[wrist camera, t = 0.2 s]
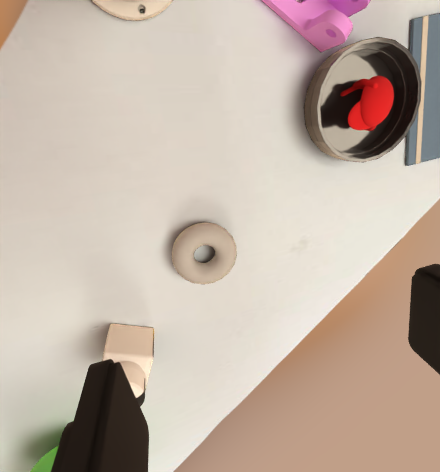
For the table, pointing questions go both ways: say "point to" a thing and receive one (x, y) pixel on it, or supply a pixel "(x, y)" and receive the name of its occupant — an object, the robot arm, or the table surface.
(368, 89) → the red rounded lobed piece
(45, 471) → the toy bird
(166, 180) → the table surface
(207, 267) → the donut
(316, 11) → the bracket
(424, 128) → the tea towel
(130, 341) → the medicine bottle
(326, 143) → the bowl
